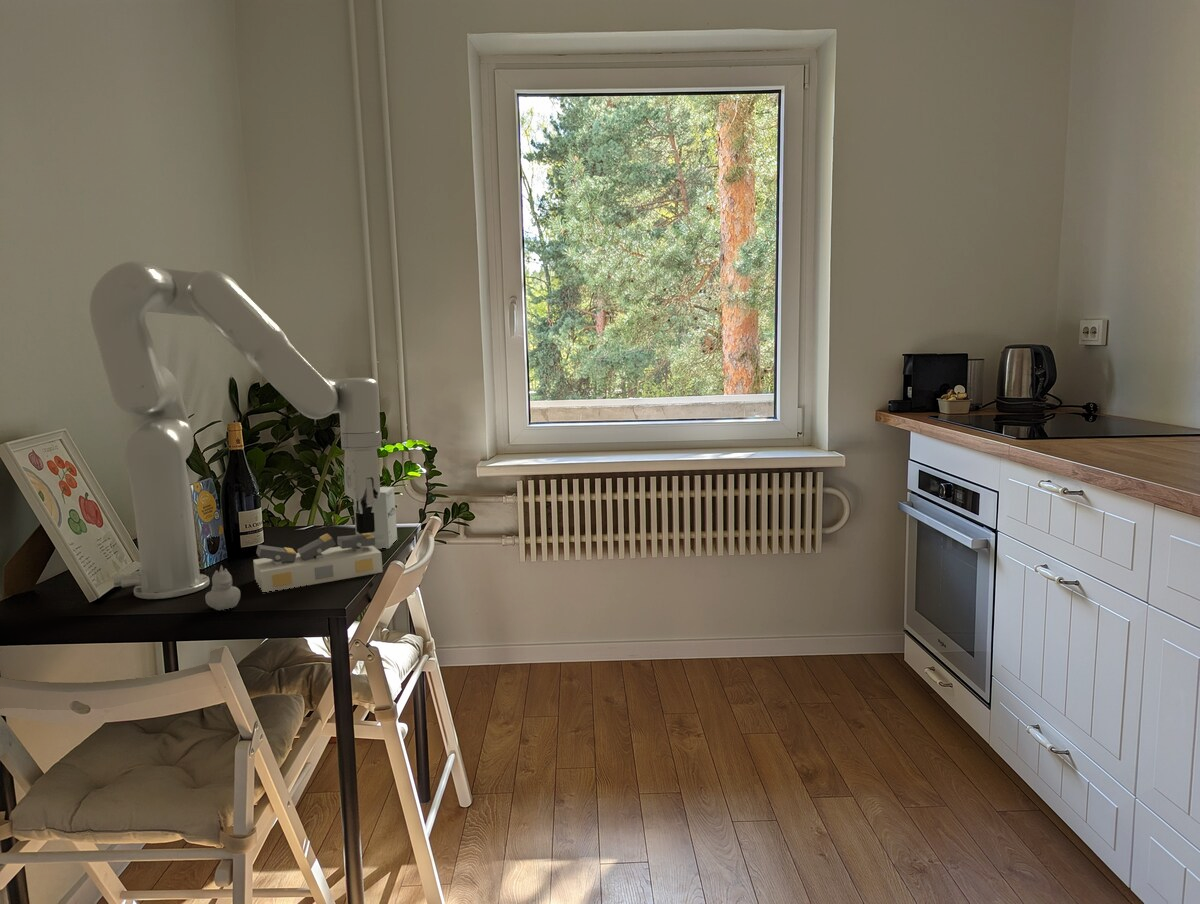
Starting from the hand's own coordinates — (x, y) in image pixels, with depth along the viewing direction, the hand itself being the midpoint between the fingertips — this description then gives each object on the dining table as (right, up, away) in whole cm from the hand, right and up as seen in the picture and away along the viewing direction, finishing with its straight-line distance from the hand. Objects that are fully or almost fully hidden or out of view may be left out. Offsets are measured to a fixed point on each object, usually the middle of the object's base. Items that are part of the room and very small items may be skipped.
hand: (365, 532), depth 161 cm
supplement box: (-3, -5, +19) cm, 20 cm away
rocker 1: (-15, -4, -8) cm, 17 cm away
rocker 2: (-8, -3, -5) cm, 10 cm away
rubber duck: (-18, -11, -21) cm, 30 cm away
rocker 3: (-2, -2, -1) cm, 3 cm away
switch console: (-8, -8, -4) cm, 12 cm away
